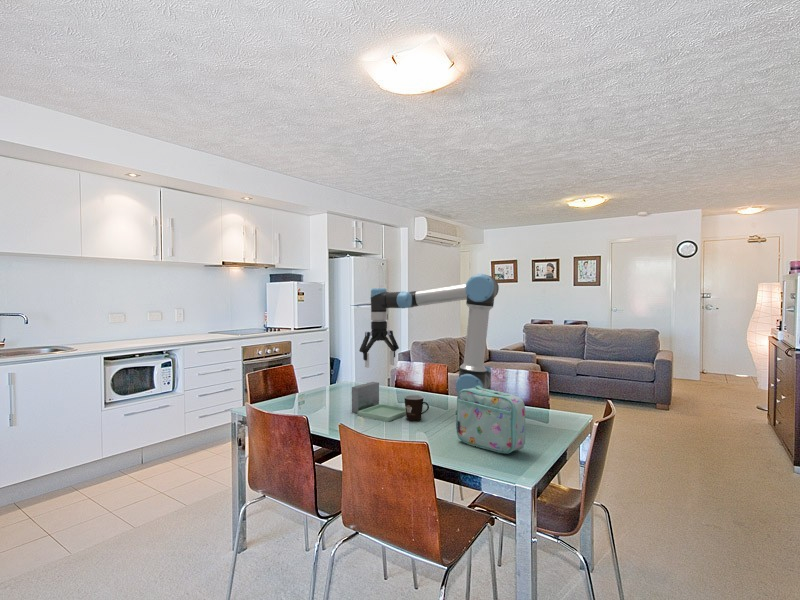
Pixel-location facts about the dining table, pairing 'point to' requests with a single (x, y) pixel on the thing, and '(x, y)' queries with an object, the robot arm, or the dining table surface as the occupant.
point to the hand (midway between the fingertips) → (379, 365)
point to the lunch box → (490, 419)
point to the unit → (365, 396)
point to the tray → (383, 412)
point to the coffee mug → (414, 407)
